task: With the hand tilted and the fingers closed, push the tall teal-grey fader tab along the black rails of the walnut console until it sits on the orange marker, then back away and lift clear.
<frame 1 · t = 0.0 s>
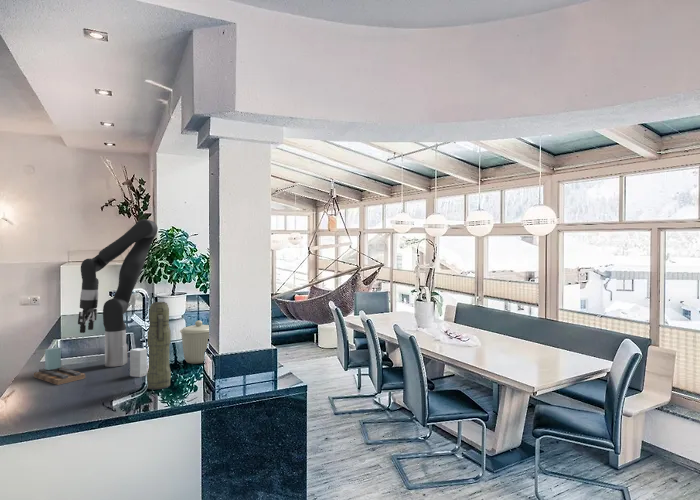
hand: (86, 331, 209), 17 cm above the counter, tool pointing down, fingers open, 8 cm apart
thermos: (159, 386, 177), on the counter
canister: (198, 361, 217), on the counter
fader tab: (52, 359, 192), point 7 cm above the counter, slide at -6.0 cm
skincare box: (138, 376, 192), on the counter
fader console: (59, 377, 189), on the counter
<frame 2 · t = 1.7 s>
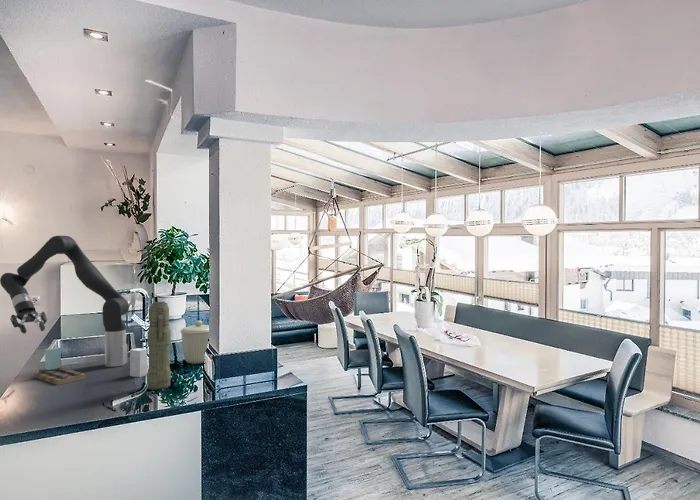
hand: (34, 331, 202), 19 cm above the counter, tool tilted 45°, fingers open, 7 cm apart
nothing on the counter moved.
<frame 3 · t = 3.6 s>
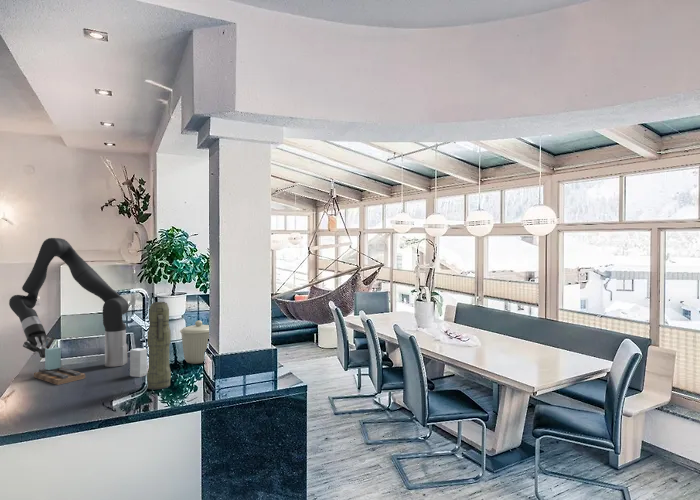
hand: (45, 356, 196), 8 cm above the counter, tool tilted 45°, fingers closed
nothing on the counter moved.
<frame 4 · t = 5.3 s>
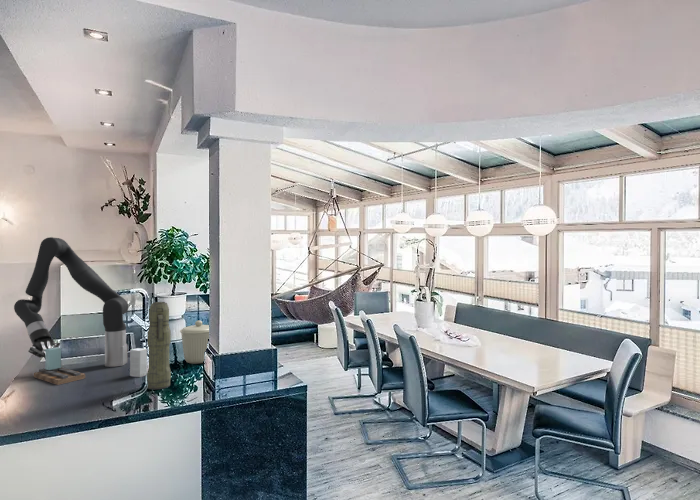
hand: (51, 362, 193), 6 cm above the counter, tool tilted 45°, fingers closed
fader tab: (53, 359, 192), point 7 cm above the counter, slide at -5.7 cm, touching gripper
everything else where it was.
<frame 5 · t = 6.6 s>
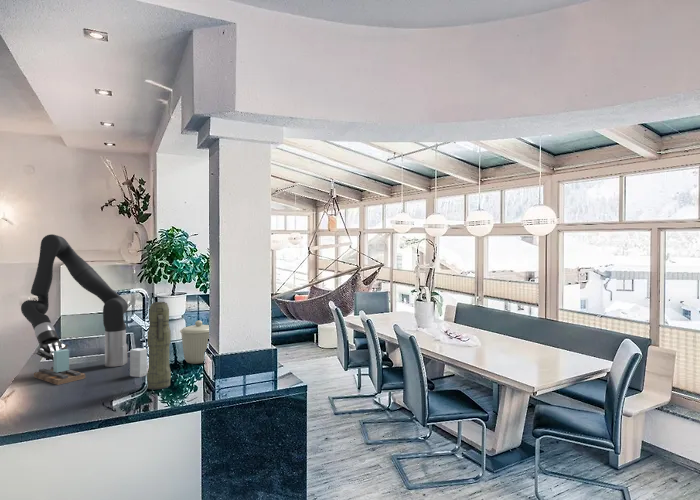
hand: (59, 364, 189), 6 cm above the counter, tool tilted 45°, fingers closed
fader tab: (61, 362, 188), point 7 cm above the counter, slide at 1.8 cm, touching gripper
everything else where it was.
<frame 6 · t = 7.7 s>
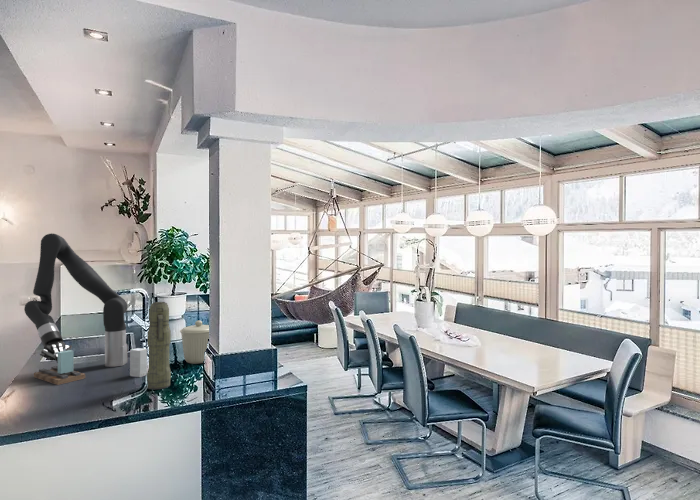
hand: (63, 365, 187), 6 cm above the counter, tool tilted 45°, fingers closed
fader tab: (65, 363, 186), point 7 cm above the counter, slide at 5.5 cm, touching gripper
everything else where it was.
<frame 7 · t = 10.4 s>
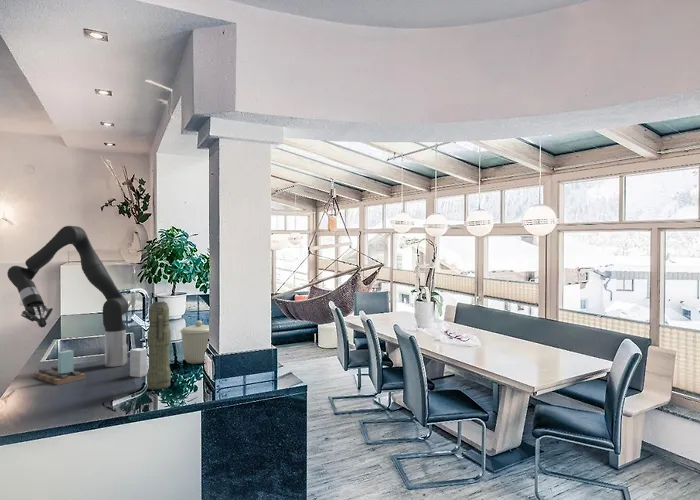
hand: (43, 326, 197), 22 cm above the counter, tool tilted 45°, fingers closed
fader tab: (65, 363, 186), point 7 cm above the counter, slide at 5.6 cm
everything else where it was.
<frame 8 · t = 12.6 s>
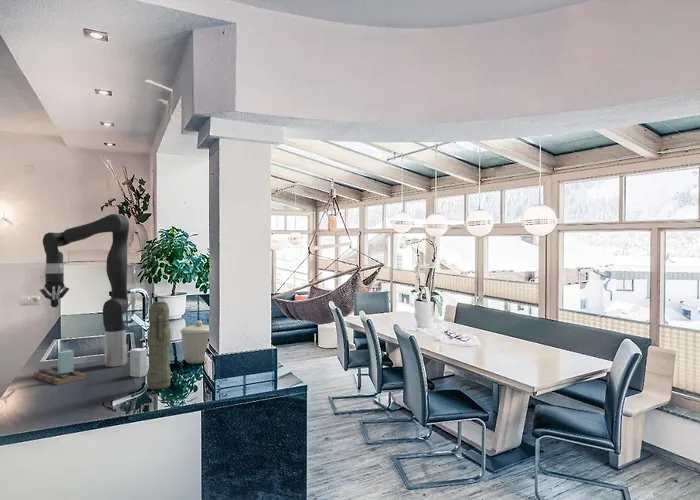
hand: (54, 307, 211), 29 cm above the counter, tool pointing down, fingers closed
nothing on the counter moved.
at the end: fader tab slide at 5.6 cm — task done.
